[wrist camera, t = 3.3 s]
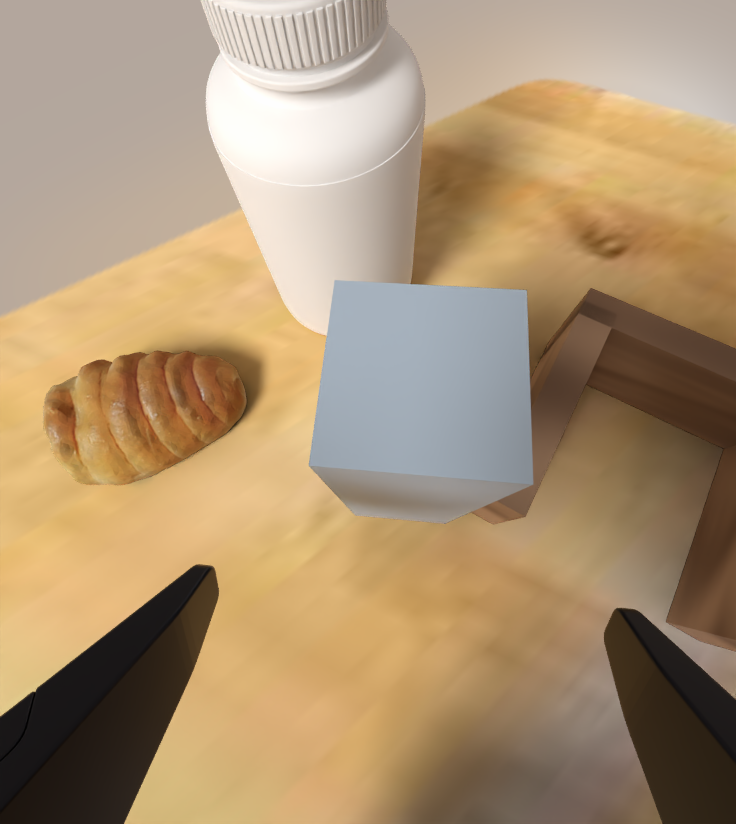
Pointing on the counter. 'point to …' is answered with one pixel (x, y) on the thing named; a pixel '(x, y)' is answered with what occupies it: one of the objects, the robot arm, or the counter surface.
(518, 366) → the block
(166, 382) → the pastry
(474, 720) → the counter surface
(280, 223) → the pill bottle
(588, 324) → the brown wooden tray
